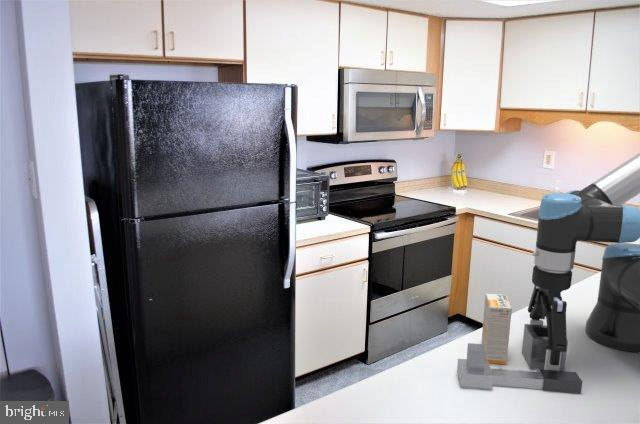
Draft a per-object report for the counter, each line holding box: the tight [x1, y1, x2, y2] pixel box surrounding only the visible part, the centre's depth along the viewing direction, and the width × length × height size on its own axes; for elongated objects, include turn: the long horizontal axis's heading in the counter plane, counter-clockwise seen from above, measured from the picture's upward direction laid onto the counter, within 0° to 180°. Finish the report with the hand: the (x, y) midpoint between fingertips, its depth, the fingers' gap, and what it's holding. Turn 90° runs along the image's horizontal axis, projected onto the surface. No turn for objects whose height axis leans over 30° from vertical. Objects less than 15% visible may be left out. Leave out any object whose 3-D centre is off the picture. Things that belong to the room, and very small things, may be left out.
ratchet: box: [456, 342, 583, 395], centre depth 103 cm, size 23×6×7 cm, turn 82°
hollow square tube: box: [521, 323, 569, 371], centre depth 111 cm, size 7×7×7 cm
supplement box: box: [480, 293, 513, 365], centre depth 114 cm, size 8×5×13 cm, turn 168°
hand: (541, 361), depth 112 cm, fingers open, 12 cm apart
